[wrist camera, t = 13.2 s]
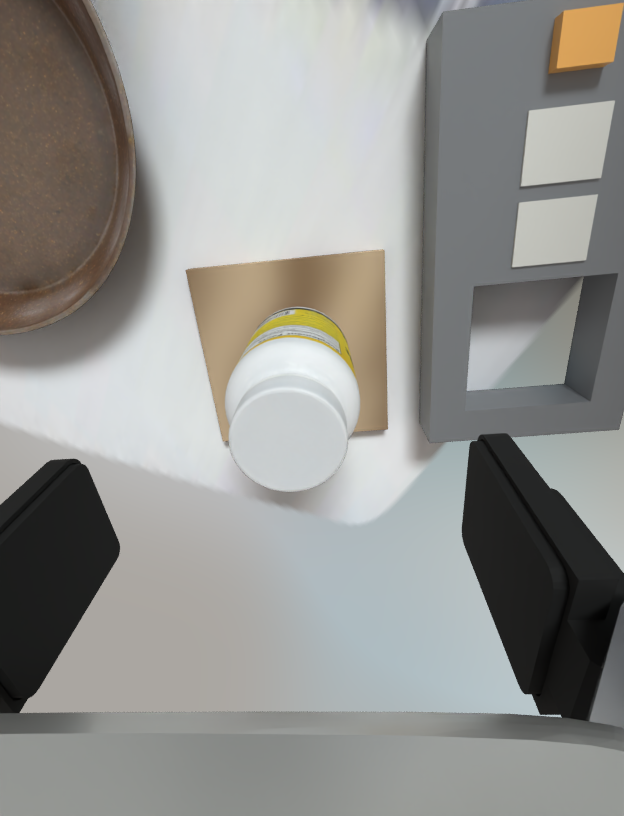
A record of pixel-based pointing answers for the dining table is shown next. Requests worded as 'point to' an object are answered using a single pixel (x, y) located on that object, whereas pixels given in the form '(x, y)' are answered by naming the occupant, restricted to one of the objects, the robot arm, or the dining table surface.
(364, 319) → the cork mat
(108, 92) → the plant saucer
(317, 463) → the supplement bottle
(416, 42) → the dining table surface
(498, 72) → the grey panel with buttons
